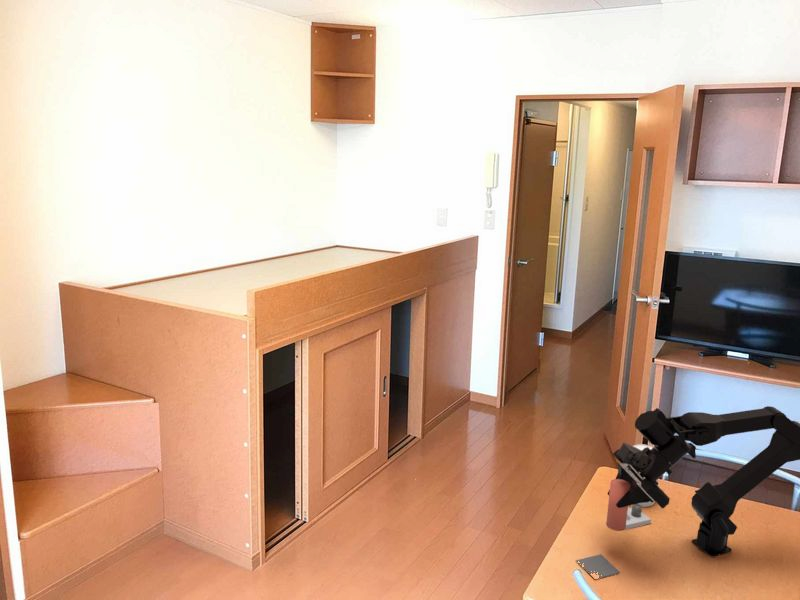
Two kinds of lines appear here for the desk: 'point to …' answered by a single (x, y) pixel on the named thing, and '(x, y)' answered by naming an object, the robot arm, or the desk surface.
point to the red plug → (615, 514)
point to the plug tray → (636, 517)
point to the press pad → (598, 566)
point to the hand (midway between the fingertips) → (612, 500)
